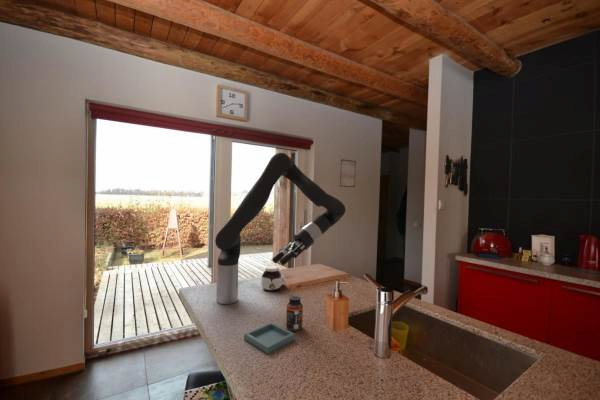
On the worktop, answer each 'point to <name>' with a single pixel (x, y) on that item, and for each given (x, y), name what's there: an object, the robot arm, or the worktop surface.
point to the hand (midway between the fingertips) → (277, 262)
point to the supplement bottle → (294, 314)
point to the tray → (269, 337)
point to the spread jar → (272, 279)
